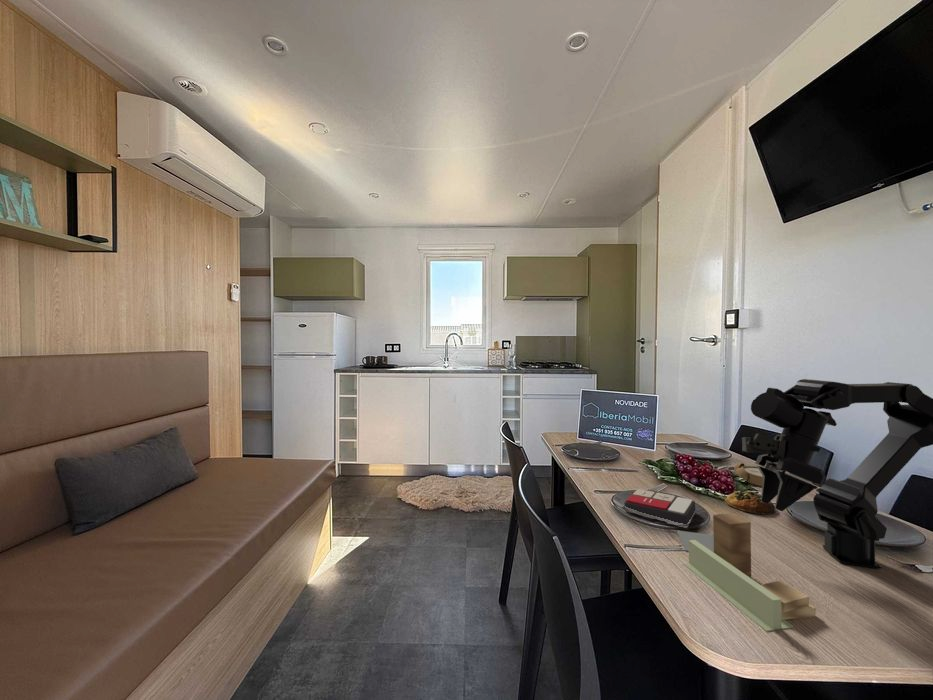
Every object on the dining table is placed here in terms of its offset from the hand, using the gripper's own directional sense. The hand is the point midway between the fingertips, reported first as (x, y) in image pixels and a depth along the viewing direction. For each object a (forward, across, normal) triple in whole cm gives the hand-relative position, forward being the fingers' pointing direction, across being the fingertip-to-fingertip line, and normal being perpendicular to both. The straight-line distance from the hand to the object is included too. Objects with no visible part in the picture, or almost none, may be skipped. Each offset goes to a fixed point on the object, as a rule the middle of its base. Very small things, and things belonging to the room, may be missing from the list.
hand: (770, 506), depth 75 cm
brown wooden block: (+15, +4, -2) cm, 16 cm away
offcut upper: (+14, +12, +3) cm, 19 cm away
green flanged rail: (+17, +10, -3) cm, 20 cm away
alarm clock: (-4, -55, +9) cm, 56 cm away
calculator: (+15, -20, -15) cm, 29 cm away
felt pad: (+14, -6, -6) cm, 17 cm away
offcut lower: (+15, +12, +3) cm, 19 cm away
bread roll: (+4, -33, +5) cm, 33 cm away
